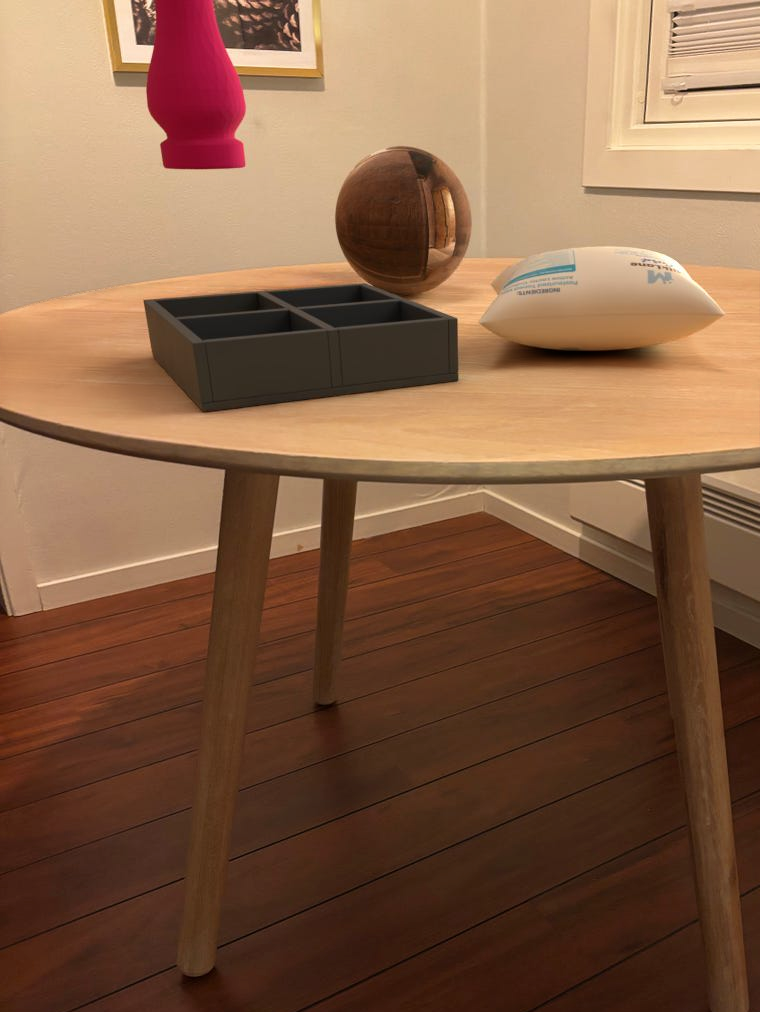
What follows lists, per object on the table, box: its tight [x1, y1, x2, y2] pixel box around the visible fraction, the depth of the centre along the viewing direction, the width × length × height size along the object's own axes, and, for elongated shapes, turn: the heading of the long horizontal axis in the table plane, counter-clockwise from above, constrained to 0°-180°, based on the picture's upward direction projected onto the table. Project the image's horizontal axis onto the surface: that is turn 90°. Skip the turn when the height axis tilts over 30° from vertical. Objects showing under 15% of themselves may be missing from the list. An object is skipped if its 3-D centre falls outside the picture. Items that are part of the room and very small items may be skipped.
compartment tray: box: [143, 282, 460, 413], centre depth 75 cm, size 19×19×5 cm
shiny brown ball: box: [334, 145, 473, 296], centre depth 104 cm, size 15×15×15 cm
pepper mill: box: [145, 0, 247, 170], centre depth 69 cm, size 7×7×20 cm
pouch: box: [477, 245, 726, 352], centre depth 82 cm, size 8×19×20 cm
